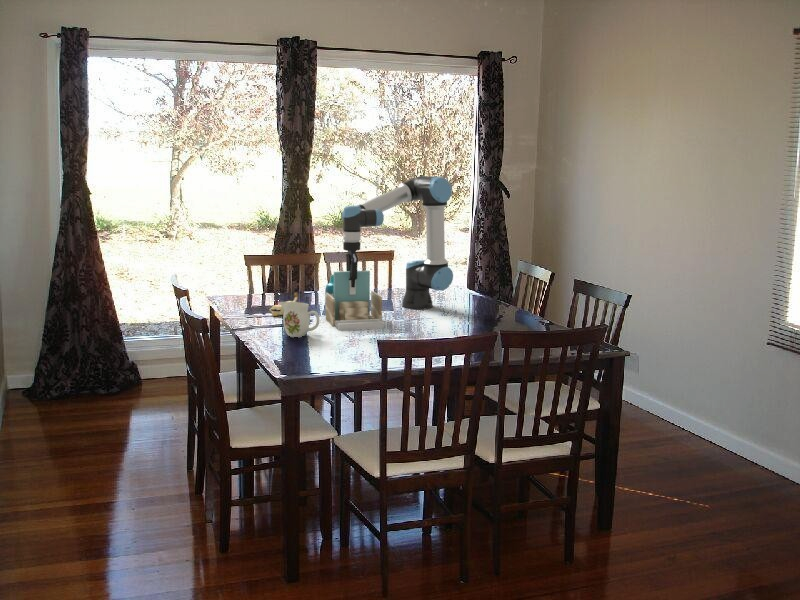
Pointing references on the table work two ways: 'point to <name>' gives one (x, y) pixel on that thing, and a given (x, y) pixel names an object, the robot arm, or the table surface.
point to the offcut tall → (351, 306)
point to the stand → (359, 324)
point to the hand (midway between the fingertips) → (351, 293)
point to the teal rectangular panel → (343, 288)
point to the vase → (330, 288)
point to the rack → (375, 314)
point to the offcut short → (356, 313)
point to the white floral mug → (297, 318)
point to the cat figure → (279, 309)
